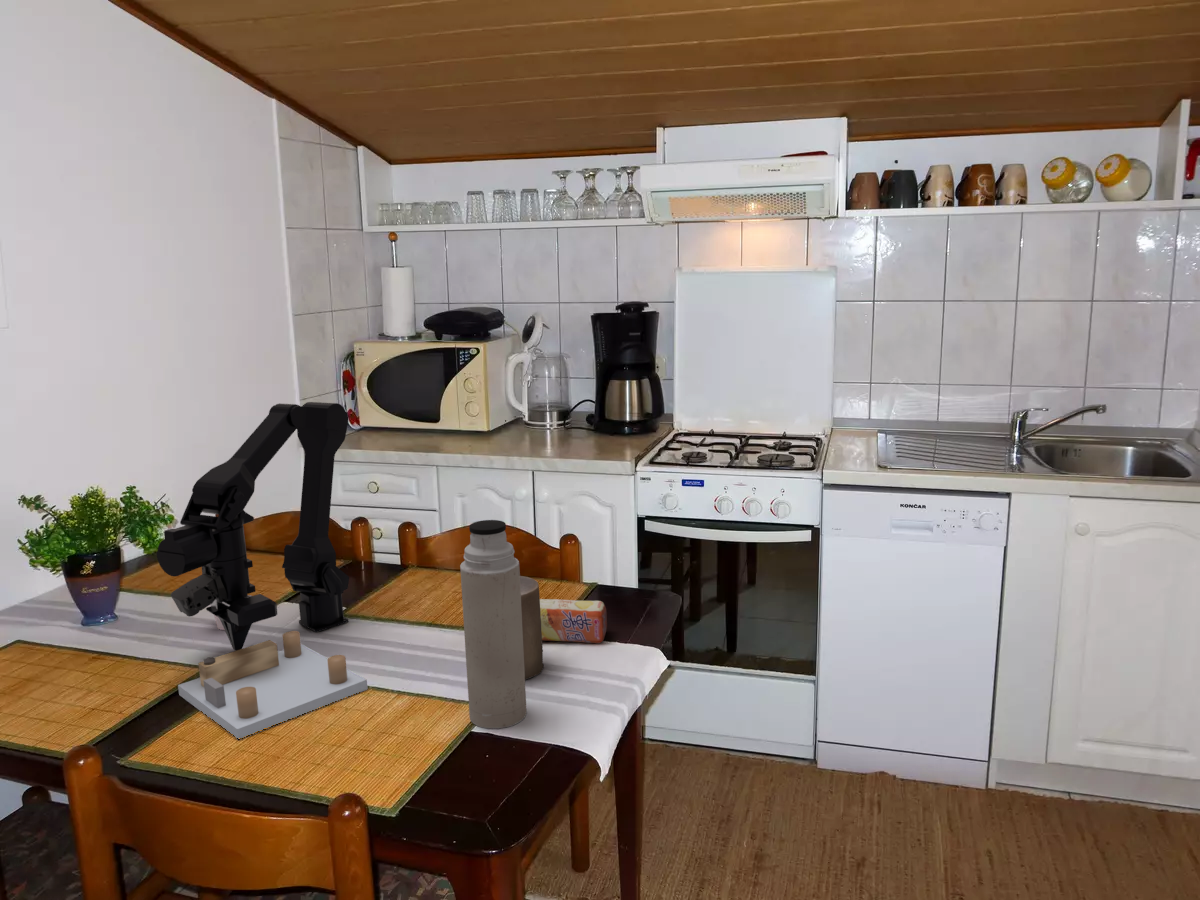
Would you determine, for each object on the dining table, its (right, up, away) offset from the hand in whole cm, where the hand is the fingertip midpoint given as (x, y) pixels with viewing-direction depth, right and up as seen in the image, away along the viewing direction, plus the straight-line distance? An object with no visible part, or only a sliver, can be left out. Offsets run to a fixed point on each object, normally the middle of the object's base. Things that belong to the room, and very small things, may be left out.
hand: (237, 649), depth 149 cm
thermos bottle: (+43, -6, -17) cm, 47 cm away
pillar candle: (+44, -3, -3) cm, 44 cm away
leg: (+3, -3, -6) cm, 7 cm away
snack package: (+48, 0, +9) cm, 49 cm away
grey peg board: (+9, -5, -8) cm, 13 cm away
